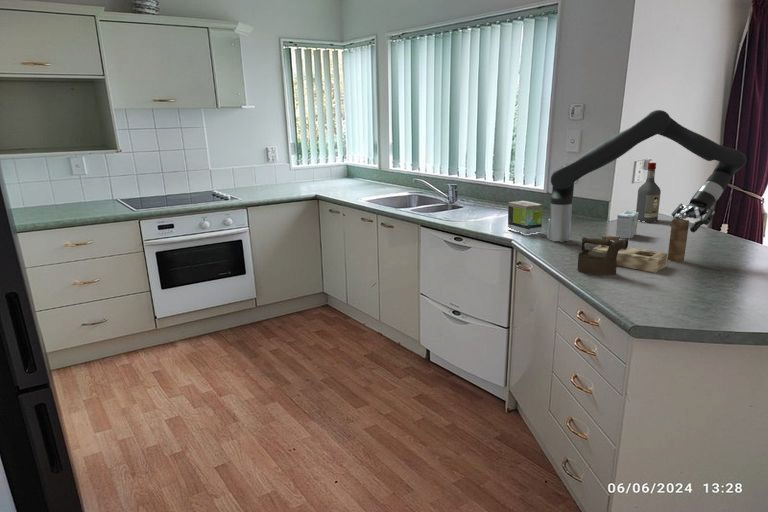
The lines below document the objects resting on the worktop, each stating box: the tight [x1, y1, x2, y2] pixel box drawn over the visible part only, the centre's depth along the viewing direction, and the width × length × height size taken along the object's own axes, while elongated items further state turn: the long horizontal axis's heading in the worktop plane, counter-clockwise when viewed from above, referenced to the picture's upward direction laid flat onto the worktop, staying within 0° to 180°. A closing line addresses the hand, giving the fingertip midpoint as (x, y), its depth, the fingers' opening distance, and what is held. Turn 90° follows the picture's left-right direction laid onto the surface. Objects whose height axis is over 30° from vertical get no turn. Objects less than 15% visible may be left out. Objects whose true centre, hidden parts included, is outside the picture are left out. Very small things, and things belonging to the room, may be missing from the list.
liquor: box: [635, 162, 661, 223], centre depth 255 cm, size 9×9×30 cm
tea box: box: [507, 200, 544, 234], centre depth 246 cm, size 15×10×15 cm, turn 22°
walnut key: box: [667, 218, 690, 263], centre depth 191 cm, size 4×4×16 cm
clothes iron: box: [577, 237, 629, 275], centre depth 182 cm, size 8×16×13 cm, turn 48°
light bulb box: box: [615, 210, 639, 240], centre depth 231 cm, size 11×7×11 cm, turn 141°
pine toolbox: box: [591, 234, 668, 274], centre depth 191 cm, size 24×10×10 cm, turn 43°
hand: (681, 228), depth 190 cm, fingers open, 8 cm apart
